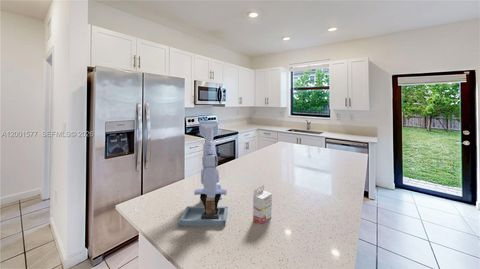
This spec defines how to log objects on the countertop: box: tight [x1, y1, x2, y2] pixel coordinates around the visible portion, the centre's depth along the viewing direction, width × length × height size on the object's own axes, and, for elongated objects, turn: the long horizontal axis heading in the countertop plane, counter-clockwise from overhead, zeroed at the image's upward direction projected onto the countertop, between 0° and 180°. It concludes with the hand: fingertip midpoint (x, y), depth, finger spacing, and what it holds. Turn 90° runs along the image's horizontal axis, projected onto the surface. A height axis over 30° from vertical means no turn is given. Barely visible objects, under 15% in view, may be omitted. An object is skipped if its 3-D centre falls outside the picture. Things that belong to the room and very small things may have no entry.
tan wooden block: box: [206, 197, 216, 215], centre depth 96 cm, size 4×4×7 cm
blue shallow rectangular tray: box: [178, 206, 229, 227], centre depth 97 cm, size 20×13×3 cm, turn 89°
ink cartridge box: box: [252, 184, 273, 225], centre depth 95 cm, size 9×5×15 cm, turn 141°
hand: (211, 209), depth 96 cm, fingers closed on tan wooden block, 4 cm apart
